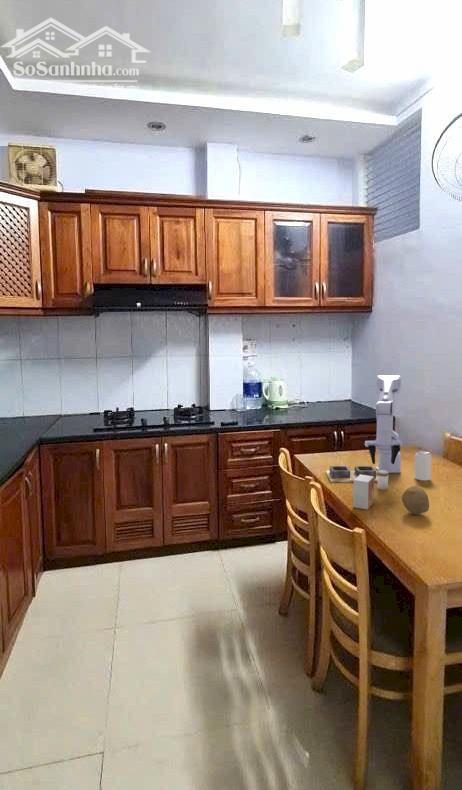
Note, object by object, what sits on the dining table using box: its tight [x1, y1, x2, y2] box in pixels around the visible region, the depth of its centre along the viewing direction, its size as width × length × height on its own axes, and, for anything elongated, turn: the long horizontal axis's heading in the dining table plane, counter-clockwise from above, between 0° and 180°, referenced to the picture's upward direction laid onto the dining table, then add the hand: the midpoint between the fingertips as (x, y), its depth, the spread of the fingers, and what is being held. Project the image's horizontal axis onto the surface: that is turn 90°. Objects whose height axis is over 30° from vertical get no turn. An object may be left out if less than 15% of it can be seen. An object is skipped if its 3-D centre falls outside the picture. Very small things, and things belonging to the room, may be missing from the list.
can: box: [413, 449, 432, 482], centre depth 203 cm, size 6×6×12 cm
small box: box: [352, 474, 375, 510], centre depth 174 cm, size 8×6×10 cm
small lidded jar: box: [377, 470, 389, 491], centre depth 192 cm, size 4×4×7 cm
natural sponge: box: [401, 485, 430, 516], centre depth 165 cm, size 9×9×10 cm
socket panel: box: [325, 465, 378, 483], centre depth 207 cm, size 21×14×4 cm, turn 87°
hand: (383, 463), depth 191 cm, fingers open, 7 cm apart
